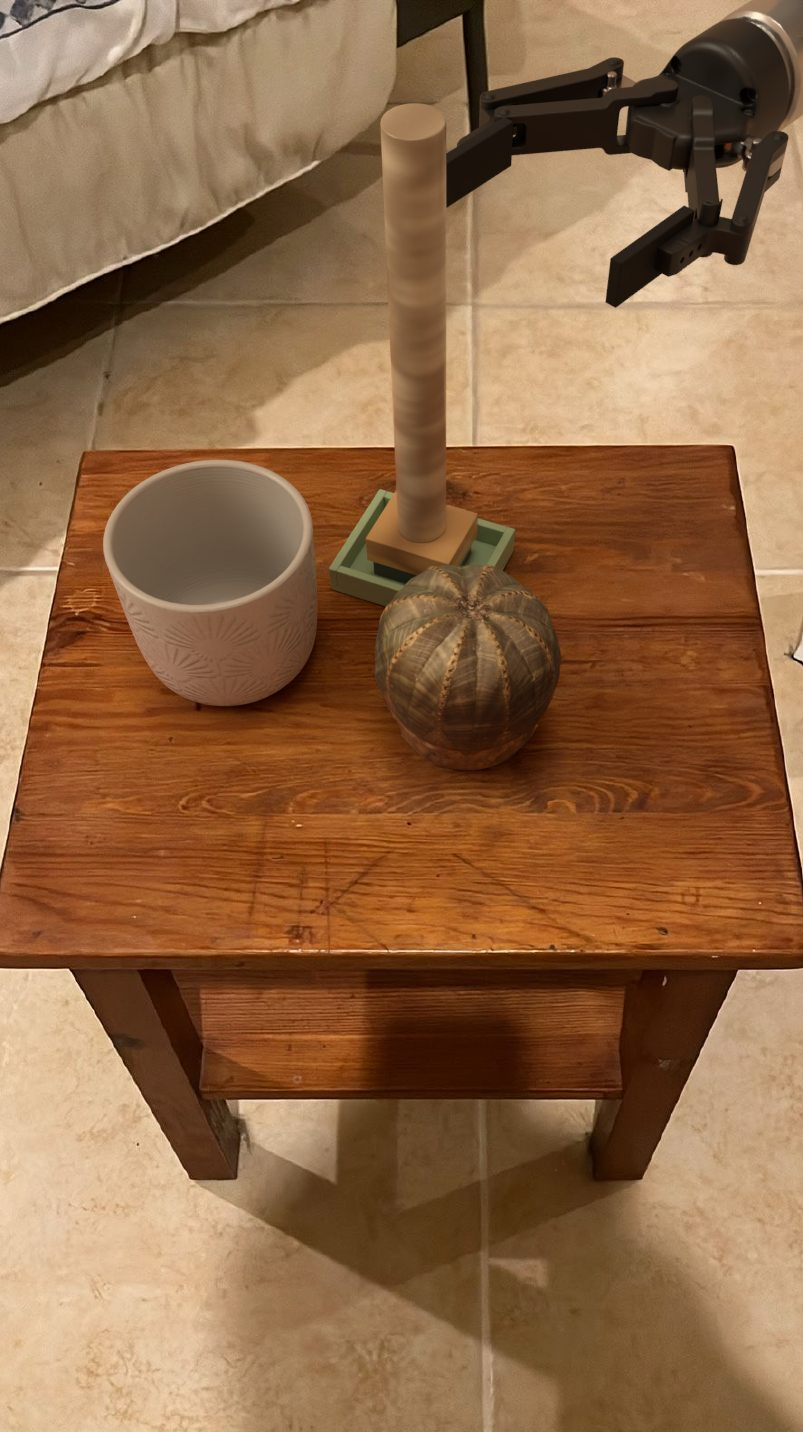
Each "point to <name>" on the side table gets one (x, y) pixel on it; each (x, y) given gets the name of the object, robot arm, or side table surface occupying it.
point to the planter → (216, 578)
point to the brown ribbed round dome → (466, 664)
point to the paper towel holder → (417, 351)
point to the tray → (360, 581)
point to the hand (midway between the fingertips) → (520, 234)
